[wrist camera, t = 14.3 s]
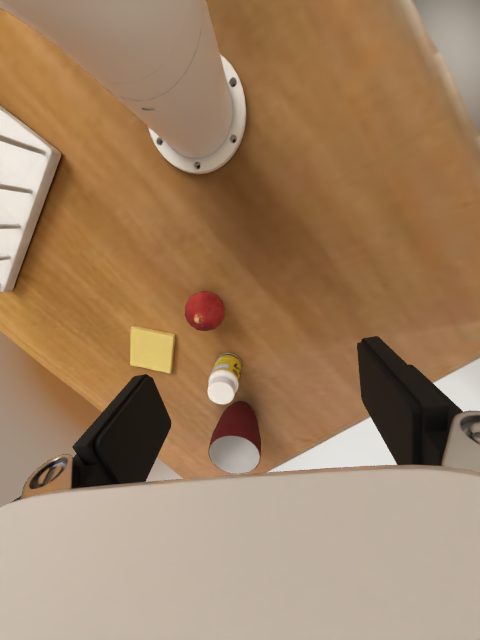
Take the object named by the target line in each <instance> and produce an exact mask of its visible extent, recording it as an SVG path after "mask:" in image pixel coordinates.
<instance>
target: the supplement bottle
mask: <svg viewBox="0 0 480 640" xmlns="http://www.w3.org/2000/svg"><path fill="white" fill-rule="evenodd" d="M241 370H242V363H241V360H240V359H239V357H238V356H236V355H235V354H232V353H224V354H222V355H220V356H219V357H218V358H217V360H216V363H215V365H214V368H213V370H212V373H211V375H210V378H209V387H208V396H209V398H210V399H211V400H212V401H213V402H215V403H217V404H228V403H230V402H231V401H232V400H233V398H234V395H235V393H236V391H237V389H238V386H239V381H240V375H241Z"/></svg>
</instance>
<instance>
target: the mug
mask: <svg viewBox="0 0 480 640" xmlns="http://www.w3.org/2000/svg"><path fill="white" fill-rule="evenodd" d="M260 456H261V439H260V433H259V427H258V422H257V418H256V415H255V413H254V411H253V410H252V409H251V407H250V406H249V405H248V404H247V403H245V402H241V401H239V402H235V403H233V404H232V405H230V406H229V407H228V408H227V409H226V410H225V411H224V412H223V414H222V416H221V418H220V420H219V422H218V424H217V426H216V428H215V430H214V432H213V435H212V438H211V442H210V446H209V457H210V459H211V461H212V463H213V464H214V465H215V466H216V467H218V468H219V469H221V470H223V471H225V472H228V473H232V474H244V473H247V472H250V471H252V470H253V469H255V468H256V467H257V466H258V464H259V462H260Z"/></svg>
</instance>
